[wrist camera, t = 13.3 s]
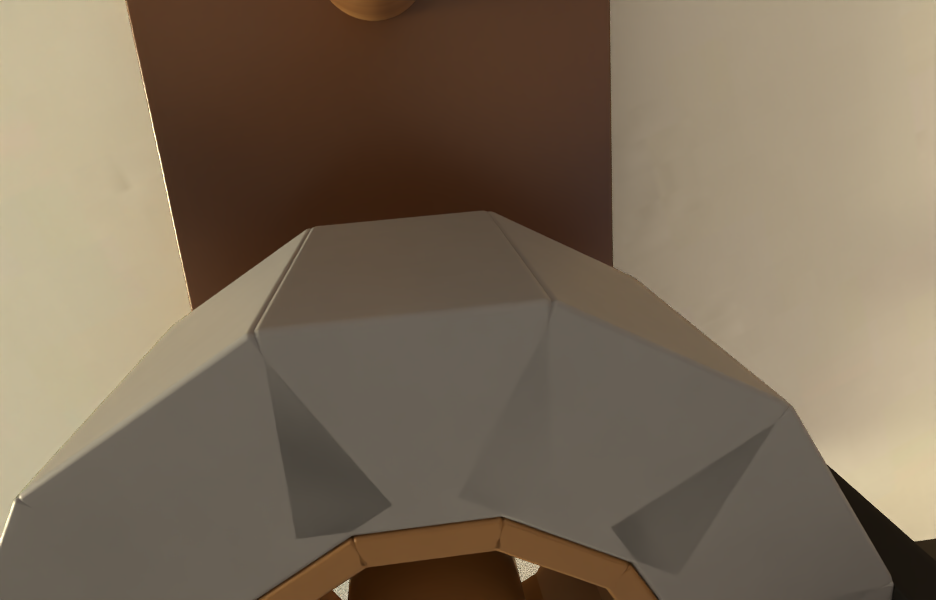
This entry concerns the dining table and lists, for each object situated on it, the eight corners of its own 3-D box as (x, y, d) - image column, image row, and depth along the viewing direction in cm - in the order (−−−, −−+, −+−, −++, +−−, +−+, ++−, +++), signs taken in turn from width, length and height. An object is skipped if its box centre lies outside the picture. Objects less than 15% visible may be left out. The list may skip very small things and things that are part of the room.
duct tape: (193, 760, 14) (92, 1100, 9) (57, 249, 11) (-203, 378, 6) (701, 684, 15) (844, 962, 10) (718, 186, 12) (941, 258, 7)
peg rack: (86, -293, 15) (-1132, -1775, 3) (586, -312, 16) (1195, -1531, 4) (254, 529, 21) (85, 1093, 10) (601, 484, 22) (843, 951, 10)
